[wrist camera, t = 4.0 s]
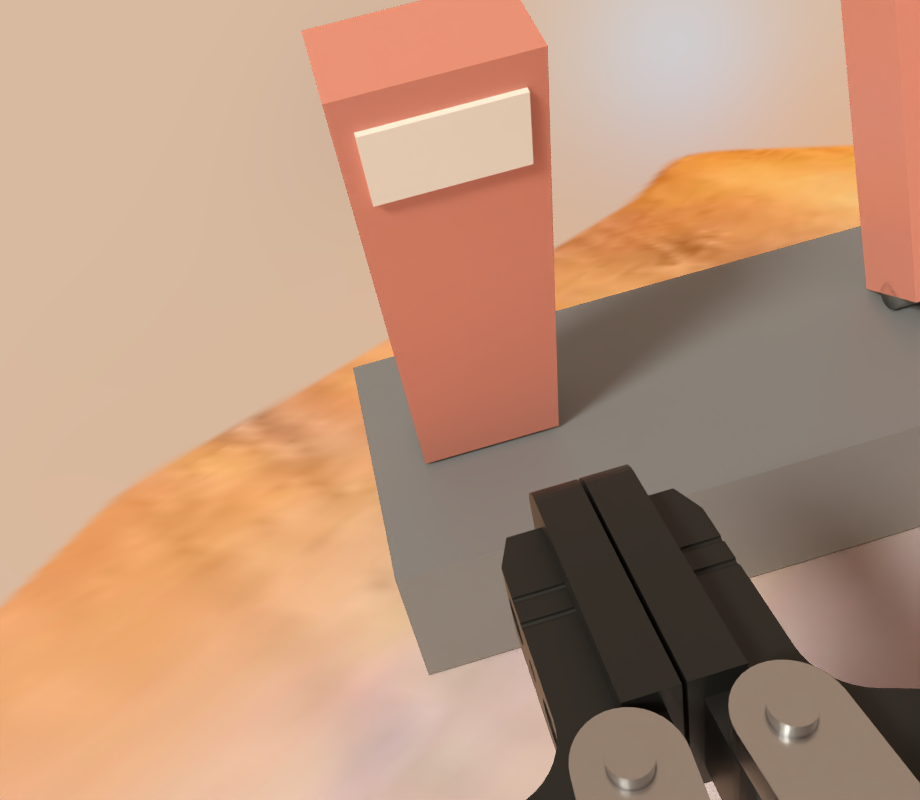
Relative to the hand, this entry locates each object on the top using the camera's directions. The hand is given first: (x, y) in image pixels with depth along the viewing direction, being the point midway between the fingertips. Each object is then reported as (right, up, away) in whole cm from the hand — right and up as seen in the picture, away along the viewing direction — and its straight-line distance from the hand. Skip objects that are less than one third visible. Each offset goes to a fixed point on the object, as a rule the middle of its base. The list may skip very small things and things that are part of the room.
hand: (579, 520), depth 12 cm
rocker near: (-1, +1, +12) cm, 12 cm away
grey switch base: (+7, 0, +15) cm, 17 cm away
